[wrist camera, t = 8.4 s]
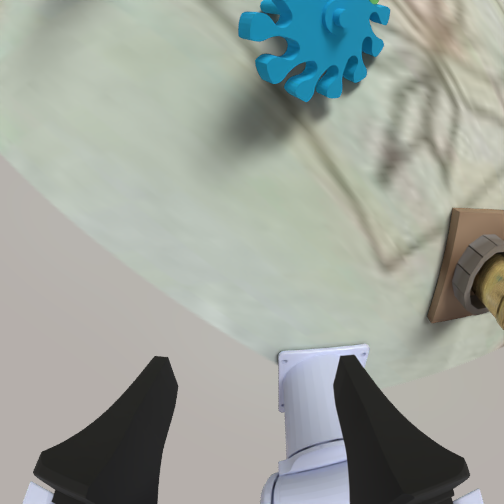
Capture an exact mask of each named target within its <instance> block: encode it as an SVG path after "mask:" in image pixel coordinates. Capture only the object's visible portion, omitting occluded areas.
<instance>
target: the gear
mask: <svg viewBox="0 0 504 504" xmlns="http://www.w3.org/2000/svg"><path fill="white" fill-rule="evenodd" d="M378 2H379V0H263V1H262V2H261V5H260V8H261V10H262V11H263V12H264V13H270V14H278V15H280V17H279V20H278V22H277V23H276V24H275V23H274V22H273V21H272V19H271V18H270V17H269V16H268V15H267V14H264V13H258V12H244V13H242V15H241V17H240V20H239V28H238V32H239V37H241V38H243V39H248V40H252V41H259V42H260V41H264V40H266V39H268V38H270V37H274V36H281V37H283V38H285V39H286V41H287V43H288V47H287V51H286V52H285V53H284V54H283V55H282V56H274V55H271V54H262V55H260V56H259V57H258V58H257V59H256V60H255V63H256V68H257V71H258V73H259V75H260V77H261V78H262V79H263V80H265V81H267V82H270V83H272V84H277V83H279V82H281V81H282V80H283V79H284V78H285V77H286V75H287V74H288V73H289V72H290V70H291V69H293V68H294V67H295V66H297V65H298V64H300V63H303V62H306V67H305V69H304V71H303V72H302V73H301V74H298V75H295V76H292V77H290V78H289V79H288V80H287V81H286V83H285V86H284V88H285V90H286V91H287V92H288V93H289V94H291V95H293V96H295V97H297V98H299V99H301V100H303V101H305V102H308V101H309V100H310V99H311V98H312V96H313V94H314V90H315V87H316V92H318V93H320V94H322V95H324V96H326V97H328V98H339V97H340V95H341V93H342V89H343V87H342V77H344V78H345V79H347V80H350V81H352V82H354V83H357V82H359V81H361V80H362V79H364V78H365V77H366V75H367V69H366V67H365V65H364V63H363V60H362V51H363V52H364V53H366V54H369V55H372V56H374V57H376V56H378V54H379V53H380V52H381V50H382V48H383V46H384V43H383V41H382V40H381V39H379V38H378V37H376V36H375V34H374V33H373V31H372V28H371V26H370V22H369V19H370V20H371V21H373V22H376V23H379V24H383V25H387V23H388V20H389V16H390V9H389V8H388V7H386V6H382V5H378V4H377V3H378ZM326 70H327V71H326ZM325 71H326V73H325V75H324V76H323V77H322V78H321V79H320V80H319V78H320V77H321V75H322V74H323V73H324V72H325ZM318 80H319V81H318ZM317 82H318V83H317ZM316 84H317V85H316Z"/></svg>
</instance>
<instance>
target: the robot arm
mask: <svg viewBox="0 0 504 504" xmlns="http://www.w3.org/2000/svg"><path fill="white" fill-rule="evenodd" d="M369 350H370V348H369V345H368V344H359V345H351V346H341V347H331V348H319V349H306V350H290V351H282V352H280V353H279V355H278V361H279V411H280V412H285V431H286V455H287V459H286V460H283V461H279V462H278V464H279V472H277V473H274V474H272V475H271V476H270V477H269V479H268V480H267V482H266V484H265V485H264V487H263V490H262V493H261V500H260V504H484V503H483V499H482V496H481V492H480V489H476V490H474V491H472V492H470V493H468V494H466V495H464V496H462V497H460V498H458V499H457V500H454V501H453V502H452V498H451V497H452V496H454V491H453V488H455V487H457V486H458V485H460V484H461V483H463V482H464V481H465V480H467V479H468V478H469V476H470V473H469V470H468V467H467V464H466V462H465V460H464V458H463V457H461V456H459V455H457V454H455V453H453V452H451V451H449V450H447V449H445V448H444V447H442V446H440V445H439V444H438V443H436V442H435V441H433V440H432V439H431V438H429V437H428V436H426V435H425V434H424V433H423V432H421V431H420V430H419V429H417V428H416V427H415V426H414V425H413V424H412V423H411V422H409V421H408V420H407V419H406V418H405V417H404V416H403V415H402V414H401V413H400V412H399V411H398V410H397V409H396V408H395V406H394V405H393V404H392V403H391V402H390V401H389V400H388V399H387V397H386V396H385V395H384V394H383V393H382V391H381V390H380V389H379V388H378V386H377V385H376V384H375V382H374V381H373V380H372V378H371V377H370V376H369V374H368V373H367V372H366V370H365V369H364V367H365V364H366V361H367V357H368V354H369ZM177 391H178V384H177V381H176V379H175V376H174V373H173V370H172V368H171V364H170V362H169V359H168V357H158V356H155V357H154V358H153V359H152V360H151V361H150V363H149V364H148V365H147V366H146V367H145V369H144V370H143V371H142V372H141V374H140V375H139V376H138V377H137V378H136V380H135V381H134V382H133V383H132V384H131V386H130V387H129V388H128V389H127V390H126V391H125V392H124V393H123V394H122V396H121V397H120V398H119V399H118V400H117V401H116V402H115V403H114V404H113V405H112V406H111V407H110V408H109V409H108V410H107V411H106V412H104V413H103V414H102V415H101V416H100V417H99V418H98V419H96V420H95V421H94V422H93V423H91V424H90V425H89V426H87V427H86V428H85V429H83V430H82V431H80V432H79V433H77V434H76V435H74V436H72V437H71V438H69V439H67V440H66V441H64V442H62V443H60V444H58V445H56V446H54V447H52V448H49V449H47V450H45V451H42V452H41V455H40V457H39V460H38V461H37V464H36V466H35V469H34V471H33V473H34V475H35V476H36V477H37V478H39V479H40V480H42V481H43V482H44V483H46V484H47V485H49V486H51V487H52V488H54V489H55V493H54V494H53V493H52V492H50V491H48V490H46V489H44V488H43V487H41V486H39V485H37V484H35V483H34V482H30V484H29V487H28V490H27V492H26V495H25V498H24V501H23V504H157V501H158V484H159V475H160V466H161V459H162V453H163V448H164V444H165V440H166V437H167V433H168V430H169V426H170V423H171V420H172V416H173V412H174V408H175V404H176V398H177Z"/></svg>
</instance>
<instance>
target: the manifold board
mask: <svg viewBox="0 0 504 504" xmlns="http://www.w3.org/2000/svg"><path fill="white" fill-rule="evenodd" d="M497 252H498V253H500V254H501V255H502V256H503V257H504V210H493V209H471V208H453V209H452V216H451V222H450V228H449V234H448V239H447V244H446V249H445V253H444V258H443V262H442V266H441V270H440V274H439V278H438V282H437V286H436V289H435V293H434V296H433V299H432V303H431V306H430V309H429V312H428V315H427V317H428V319H429V320H430V322H431V323H436V322H442V321H447V320H452V319H457V318H462V317H466V316H471V315H479V314H483V313H487V312H488V311H489V310H488V309H487V307H486V306H485V305H484V304H483V303H482V302H481V301H480V299H479V298H478V297H477V296H476V295H475V294H474V293H473V292H472V291H471V287H472V284H473V281H474V278H475V276H476V274H477V273H478V271H479V270H480V268H481V267H482V265H483V264H484V262H485V261H486V260H488V259H489V258H490V257H492V256H493V255H494V254H495V253H497Z"/></svg>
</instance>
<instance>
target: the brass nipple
mask: <svg viewBox="0 0 504 504" xmlns="http://www.w3.org/2000/svg"><path fill="white" fill-rule="evenodd" d="M471 291H472V292H473V293H474V294H475V295H476V296H477V297H478V298H479V299H480V301H481V302H482V303H483V304H484V305H485V306H486V307H487V309H488V310H489V311H490V312H491V313H492V315H493V316H494V317H495V318H496V321H497V323H498V324H499V325H500V326H501V328H502V329H503V330H504V257H503V256H502V255H501V254H500V253H498V252H497V253H495V254H494V255H493V256H492V257H490V258H489V259H488V260H486V261H485V262H484V264H483V265H482V267H481V268H480V270H479V271H478V273H477V274H476V276H475V278H474V281H473V284H472V287H471Z"/></svg>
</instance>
